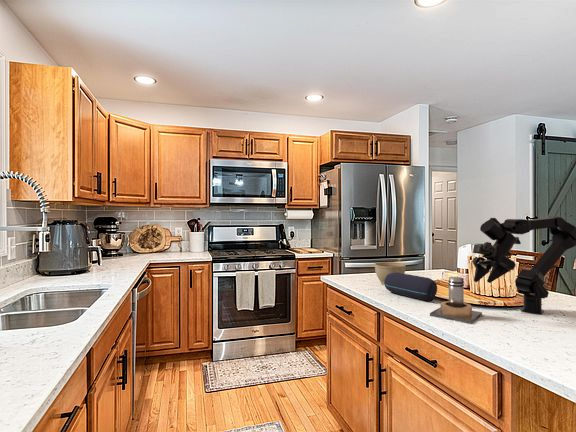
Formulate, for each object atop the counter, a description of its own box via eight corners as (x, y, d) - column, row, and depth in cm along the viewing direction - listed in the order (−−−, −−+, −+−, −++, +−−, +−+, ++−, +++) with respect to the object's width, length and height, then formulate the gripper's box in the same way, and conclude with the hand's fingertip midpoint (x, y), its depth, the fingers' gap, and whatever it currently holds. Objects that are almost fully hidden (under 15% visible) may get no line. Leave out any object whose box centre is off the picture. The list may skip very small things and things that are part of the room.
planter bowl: (368, 282, 192) (368, 262, 192) (394, 280, 197) (394, 261, 197) (385, 288, 177) (385, 267, 177) (412, 286, 181) (412, 265, 181)
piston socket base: (443, 308, 140) (443, 298, 139) (482, 314, 130) (482, 304, 130) (429, 315, 129) (429, 305, 129) (470, 323, 120) (470, 312, 120)
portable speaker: (441, 300, 151) (441, 278, 151) (427, 304, 146) (427, 280, 146) (396, 290, 173) (395, 270, 172) (382, 292, 167) (381, 272, 167)
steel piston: (456, 310, 133) (455, 276, 133) (467, 313, 128) (467, 278, 128) (445, 311, 131) (445, 277, 131) (456, 315, 126) (456, 279, 126)
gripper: (470, 237, 141) (451, 269, 139) (497, 232, 123) (475, 269, 121) (494, 253, 140) (475, 285, 138) (525, 250, 121) (503, 287, 119)
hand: (481, 281), depth 129 cm, fingers open, 9 cm apart
